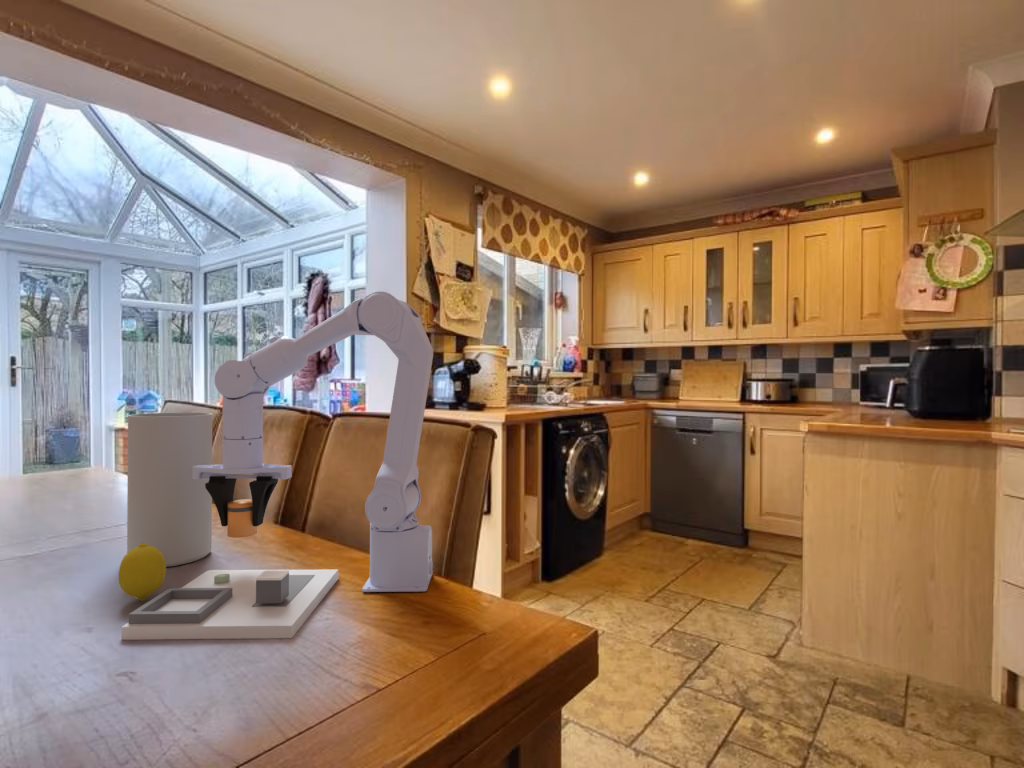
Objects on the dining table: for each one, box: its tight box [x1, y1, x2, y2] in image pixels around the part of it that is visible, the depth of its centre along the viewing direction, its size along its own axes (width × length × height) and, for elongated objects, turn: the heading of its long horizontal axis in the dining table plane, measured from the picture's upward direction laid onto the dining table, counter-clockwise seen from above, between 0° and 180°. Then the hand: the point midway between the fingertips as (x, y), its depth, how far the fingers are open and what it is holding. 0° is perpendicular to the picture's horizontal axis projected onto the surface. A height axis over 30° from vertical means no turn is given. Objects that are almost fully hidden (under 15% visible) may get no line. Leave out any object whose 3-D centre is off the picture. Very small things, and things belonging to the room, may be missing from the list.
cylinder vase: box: [126, 412, 213, 568], centre depth 96 cm, size 12×12×25 cm
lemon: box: [118, 543, 167, 601], centre depth 77 cm, size 6×6×8 cm
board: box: [121, 568, 339, 641], centre depth 76 cm, size 20×20×3 cm
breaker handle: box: [256, 571, 289, 603], centre depth 73 cm, size 3×3×3 cm
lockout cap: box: [226, 498, 258, 539], centre depth 86 cm, size 4×4×5 cm
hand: (242, 524), depth 86 cm, fingers closed on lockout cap, 4 cm apart
